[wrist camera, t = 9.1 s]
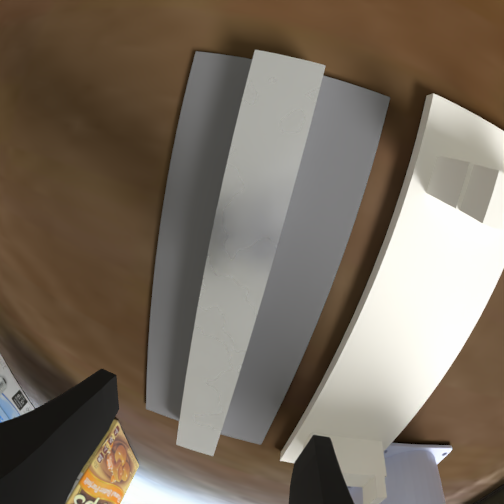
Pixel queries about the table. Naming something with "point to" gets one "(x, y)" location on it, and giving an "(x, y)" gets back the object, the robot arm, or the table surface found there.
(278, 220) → the rail
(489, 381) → the table surface
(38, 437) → the robot arm
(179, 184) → the rubber mat
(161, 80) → the table surface
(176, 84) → the table surface
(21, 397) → the light bulb box
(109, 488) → the candy box
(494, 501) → the diary
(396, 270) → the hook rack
